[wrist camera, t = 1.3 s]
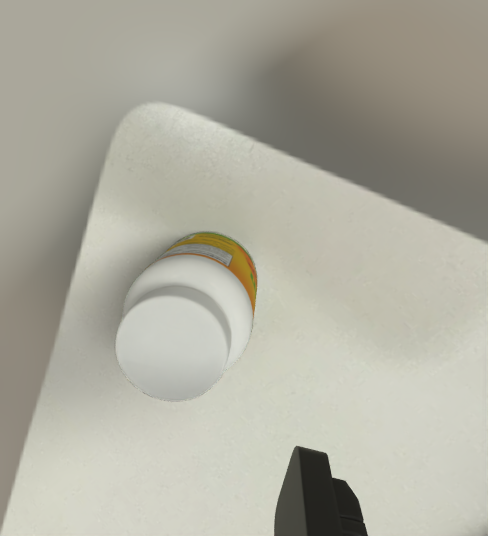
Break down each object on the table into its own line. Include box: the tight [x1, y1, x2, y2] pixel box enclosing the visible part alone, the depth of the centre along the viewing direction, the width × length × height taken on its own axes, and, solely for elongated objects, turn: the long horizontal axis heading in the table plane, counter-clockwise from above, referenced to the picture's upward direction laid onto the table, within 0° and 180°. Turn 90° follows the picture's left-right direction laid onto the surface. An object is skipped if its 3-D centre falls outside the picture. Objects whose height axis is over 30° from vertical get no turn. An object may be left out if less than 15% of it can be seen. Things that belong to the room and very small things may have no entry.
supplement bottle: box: [115, 232, 257, 402], centre depth 20 cm, size 5×5×10 cm
